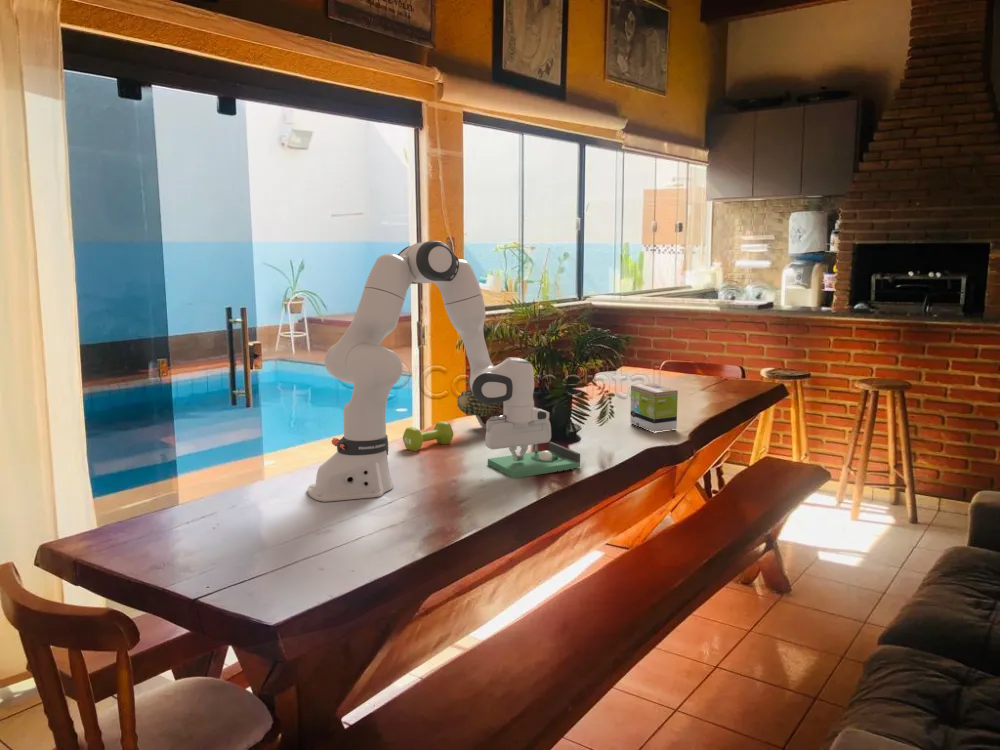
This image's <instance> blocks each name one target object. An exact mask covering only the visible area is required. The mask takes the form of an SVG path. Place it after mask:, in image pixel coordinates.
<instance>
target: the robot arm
mask: <svg viewBox="0 0 1000 750" xmlns="http://www.w3.org/2000/svg"><path fill="white" fill-rule="evenodd" d="M431 283H434V285H435V286H436V287H437V288H438V290H439V291H440V293H441V298H442V301H443V306H444V309H445V312H446V314H447V317H448V319H449V321H450V323H451V325H452V327H453V328H454V329H455V331H456V332H457V334H458V335H459V336H460V338H461V340H462V343H463V346H464V349H465V353H466V357H467V360H468V364H469V374H468V389H470V390H471V391H472V393H473V395H474V397H475V398H476V399H477V400H478V401H479V402H481V403H483V404H494V403H499V402H503V415H502V416H496V417H495V416H493V417H491V418H490V419H488V420H487V422H486V429H485V431H486V432H485V439H484V441H485V442H484V444H485V446H486V447H487V449H490V450H499V449H500V450H501V449H507V448H508V451H510V453H511V455H513V461H522V460H524V455H525V453H527V451H528V449H529V447H528V446H533V445H535V444H538V445H539V444H546V443H548V444H549V442H551V439H552V426H551V425H552V424H551V421H550V412H549V411H547V410H544V409H542V408H538V407H536V406H535V401H534V392H535V375H534V368H533V365H532V364H531V363H530V362H529V361H528V360H527V359H523V358H522V357H521V358H520V357H513V356H512V357H511V356H510V357H506V358H505V359H504V360H503V361H501V362H500V363H498V364H496V365H494V364H493V362H492V360H491V358H490V354H489V351H488V347H487V343H486V340H485V335H484V325H485V322H486V305H485V299H484V296H483V293H482V289H481V286H480V283H479V280H478V277H477V276H476V274H475V271H474V270H473V268H472V265H471V264H470V262H468V261H467V260H465V259H462V258H458V257H457V256H456V255H455V253H454V251H453V249H452V248H451V247H450V246H449V245H448V244H446V243H444V242H443V241H440V240H428V241H419V242H417V243H414V244H411V245H409V246H406V247H404V248H403V249H402V250H401V251H399V253H397V254H394V253H386V254H385V253H384V254H382V255H380V256H379V257H378V258H377V259H376V261H375V262H374V264H373V266H372V268H371V270H370V272H369V275H368V277H367V280H366V282H365V284H364V288H363V291H362V293H361V297H360V300H359V303H358V306H357V309H356V313H355V314H354V316H353V319H352V321H351V323H350V324H349V325H348V327H347V329H346V330H345V332H344V333H343V335H341V338H340V339H338V341H337V342H336V343H334V344H333V345H331V346H330V348H328V350H327V352H326V353H325V357H324V366H325V369H326V371H327V372H328V373H329V374H330V375H331V376H332V377H334V378H335V379H337V380H339V381H341V382H342V383H343V382H344V383H348V384H352V385H353V389H352V394H351V398H350V400H349V401H348V402H347V403H346V404H345V405H344V406H343V411H342V414H343V415H342V416H343V418H342V421H343V436H342V437H341V438H340V439H339V438H338V437H333V438H332V439H331V441H330V443H331V444H332V445H333V446H334V447H336V453H334V454H333V455H332V456H331V457H329V458H328V459H327V460H326V461H325V462H323V463H322V464H321V465H320V466H319V467H318V469H317V471H316V479H315V483H312V484H310V485H308V487H307V494H308V496H310V498H312V499H314V500H316V501H319V502H323V503H325V502H326V503H327V502H334V501H335V502H337V501H338V502H339V501H347V500H357V499H367V498H368V499H369V498H379V497H381V496H383V495H384V494H385V493H386V492H389V491H390V490H392V489H393V488H394V486H395V485H394V483H393V480H392V476H391V472H390V467H389V460H388V459H389V458H388V455H389V439H388V435H387V427H386V426H387V425H386V424H387V419H386V417H387V405H388V404H387V403H388V399H389V396H390V393H391V390H392V388H393V387H394V386H395V385H396V384H397V383H398V381H399V380H400V378H401V376H402V375H403V362H402V359H401V357H400V356H399V354H398V353H396V351H394V350H392V349H389V348H388V347H386V346H383V345H381V344H382V343H383V341H384V340H385V339H386V338H387V336H388V335H390V334H391V333H392V332H394V330H395V329H396V328H397V327H398V323H399V319H400V317H401V314H402V311H403V306H404V303H405V300H406V295H407V291H408V290H409V288H410V286H411V285H412V284H413V285H415V284H417V285H418V284H431ZM548 418H549V420H547V419H548ZM489 420H491V421H489ZM518 447H520V448H521V449H520V451H519V453H517V452H516V451H517V448H518Z"/></svg>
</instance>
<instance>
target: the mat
mask: <svg viewBox="0 0 1000 750" xmlns="http://www.w3.org/2000/svg"><path fill="white" fill-rule="evenodd" d="M542 451H543V450H542ZM542 451H540V450H539V451H538V453H535V451H533V452H526V453H525V455H524V460H522V461H513V455H512V454H511V455H505V456H504V455H503V456H499V457H498V456H497V457H491V458H487V466H488V467H489V466H490V467H492V468H493V469H495V470H497V471H499V472H501V473H503V474H505V475H507V476H509V477H511V478H513V479H517V478H518V479H519V478H525V477H526V478H527V477H531V476H536V475H537V476H538V475H539V476H540V475H543V474H544V475H545V474H549V473H551V474H552V473H556V472H557V471H558V472H563V470H564V471H570V470H569V469H571V470H575V469H574V468H577V469H579V468H578V467H580V468H581V453H579V452H577V451H574V450H573V449H570V448H567V447H565V446H563V445H560V444H558V443H557V442H556V443H555V442H553V441H549V442H548V450H546V451H549V452H550V453H551V454H552V461H543V460H539V455H540V453H541V452H542Z"/></svg>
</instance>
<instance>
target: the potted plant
mask: <svg viewBox="0 0 1000 750" xmlns="http://www.w3.org/2000/svg"><path fill="white" fill-rule="evenodd" d="M460 393H461V394H459V396H458V397H457V401H456V402H457V405H456V407H458V408H459V411H461V412H462V413H464V414H466V415H469V416H475V417H476V420H477V422H478V423H479V425H480V426H481V428H483V429H485V430H486V422H487V420H488V419H490V418H491V417H493V416H495V417H496V416H502V415H503V402H499V403H494V404H483V403H481V402H479V401H478V400H477V399H476V398H475V397H474V395H473V393H472V391H471V390H470V388H468V389H466V390H464V391H461V392H460ZM489 421H491V420H489Z"/></svg>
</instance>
